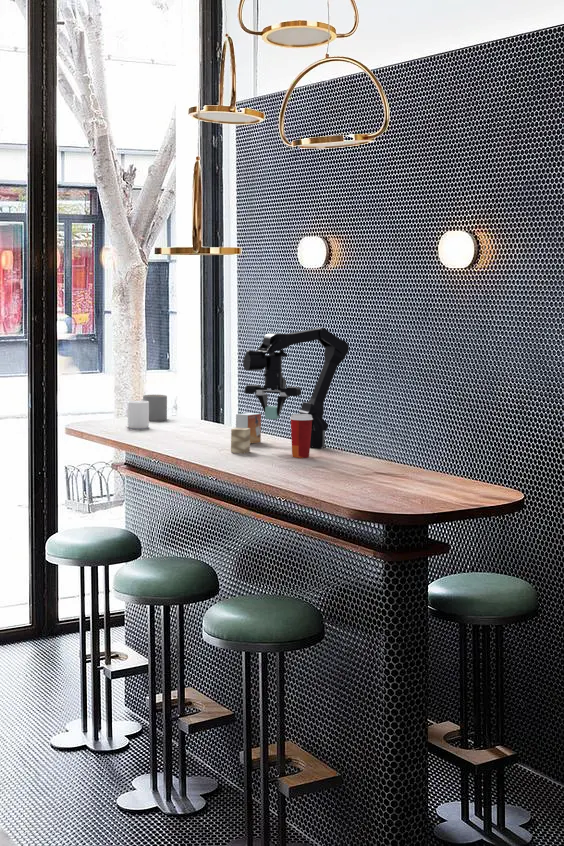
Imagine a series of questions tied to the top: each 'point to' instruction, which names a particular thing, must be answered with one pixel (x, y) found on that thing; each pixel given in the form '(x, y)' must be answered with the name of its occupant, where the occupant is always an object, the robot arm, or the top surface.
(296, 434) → the paper cup
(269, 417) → the teal cube
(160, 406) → the coffee mug
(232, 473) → the top surface
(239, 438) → the birch upper block
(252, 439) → the small box
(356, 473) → the top surface
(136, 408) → the mug
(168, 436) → the top surface
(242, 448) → the birch lower block
